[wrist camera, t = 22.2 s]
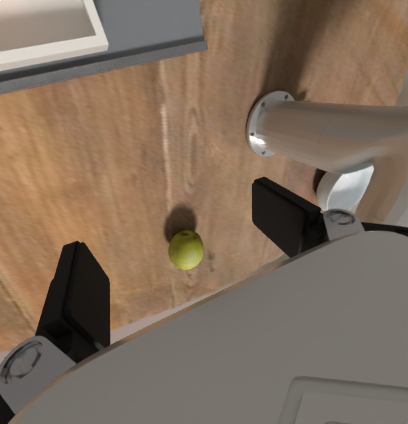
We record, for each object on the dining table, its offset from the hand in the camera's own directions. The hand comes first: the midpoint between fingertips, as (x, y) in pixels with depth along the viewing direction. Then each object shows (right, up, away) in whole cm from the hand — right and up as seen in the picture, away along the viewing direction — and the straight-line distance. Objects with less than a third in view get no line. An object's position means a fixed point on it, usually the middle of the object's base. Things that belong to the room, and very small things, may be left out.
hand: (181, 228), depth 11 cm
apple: (-4, -6, +36) cm, 37 cm away
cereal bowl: (+39, +10, +49) cm, 64 cm away
